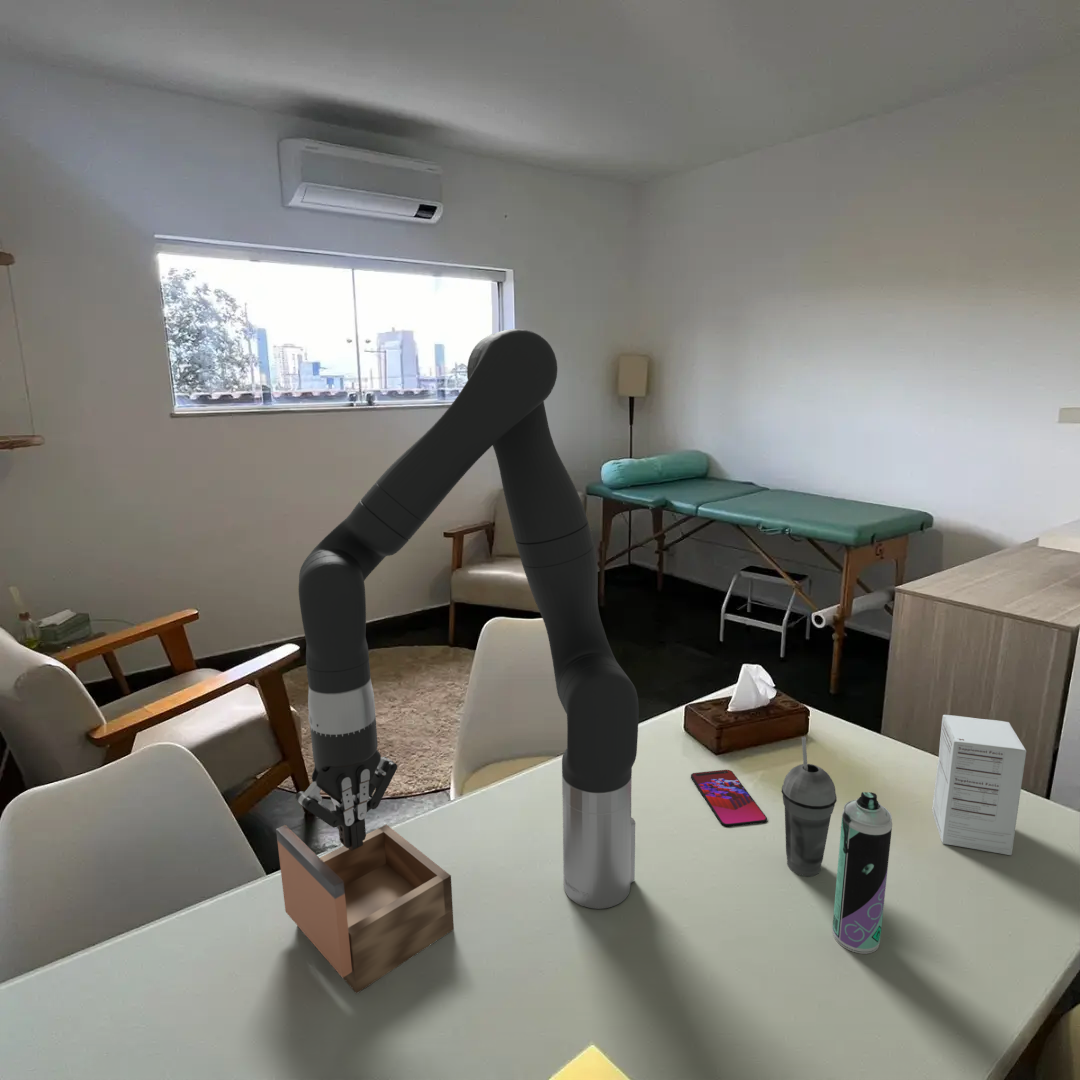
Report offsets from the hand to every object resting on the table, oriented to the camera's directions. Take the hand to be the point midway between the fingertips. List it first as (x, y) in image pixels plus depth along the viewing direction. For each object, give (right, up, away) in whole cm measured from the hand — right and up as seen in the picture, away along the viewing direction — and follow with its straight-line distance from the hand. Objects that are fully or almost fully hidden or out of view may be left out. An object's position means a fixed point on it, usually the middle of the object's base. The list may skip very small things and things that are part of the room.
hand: (353, 845), depth 90 cm
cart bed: (+2, -12, +4) cm, 13 cm away
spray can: (+62, -12, +1) cm, 64 cm away
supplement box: (+88, -7, +21) cm, 91 cm away
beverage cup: (+61, -9, +14) cm, 63 cm away
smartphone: (+54, -6, +31) cm, 63 cm away
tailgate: (-3, -11, -1) cm, 11 cm away
